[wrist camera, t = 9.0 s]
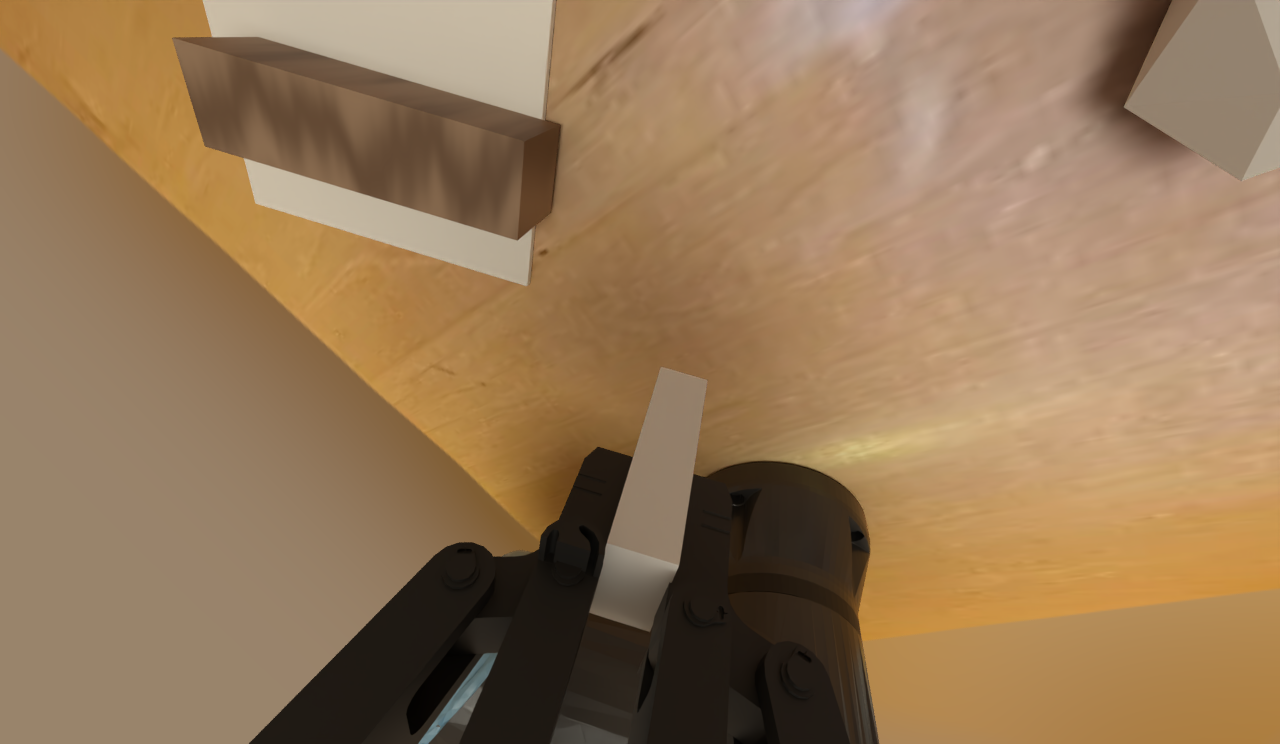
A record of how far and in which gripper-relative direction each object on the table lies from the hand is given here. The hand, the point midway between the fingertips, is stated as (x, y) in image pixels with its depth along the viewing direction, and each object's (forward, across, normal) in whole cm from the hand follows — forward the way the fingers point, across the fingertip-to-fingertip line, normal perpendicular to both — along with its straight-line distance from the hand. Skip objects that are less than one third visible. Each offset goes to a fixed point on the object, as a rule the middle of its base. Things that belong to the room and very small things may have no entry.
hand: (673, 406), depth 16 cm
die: (+17, -18, -14) cm, 28 cm away
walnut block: (+14, +10, -2) cm, 17 cm away
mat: (+17, +21, -2) cm, 27 cm away
